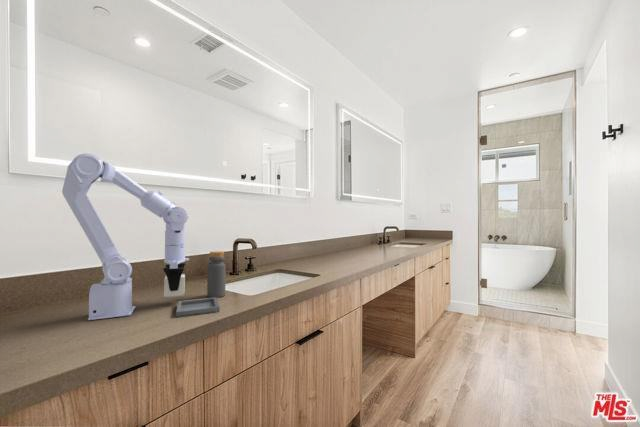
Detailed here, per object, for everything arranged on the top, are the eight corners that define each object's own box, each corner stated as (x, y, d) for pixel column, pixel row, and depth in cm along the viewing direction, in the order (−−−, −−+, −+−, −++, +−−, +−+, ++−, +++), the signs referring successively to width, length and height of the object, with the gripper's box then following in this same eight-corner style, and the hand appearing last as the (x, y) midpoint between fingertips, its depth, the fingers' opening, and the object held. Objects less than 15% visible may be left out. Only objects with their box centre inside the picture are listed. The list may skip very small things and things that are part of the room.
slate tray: (176, 317, 78) (176, 312, 78) (178, 306, 88) (178, 301, 88) (219, 311, 82) (219, 306, 82) (216, 301, 92) (216, 297, 92)
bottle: (208, 298, 95) (209, 252, 96) (206, 294, 100) (206, 251, 101) (226, 296, 98) (227, 252, 99) (223, 292, 103) (224, 250, 104)
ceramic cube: (164, 296, 87) (164, 278, 87) (165, 292, 92) (165, 275, 92) (184, 295, 89) (184, 277, 89) (184, 291, 94) (185, 274, 94)
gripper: (188, 246, 86) (188, 292, 85) (189, 242, 99) (188, 282, 99) (161, 247, 83) (161, 294, 83) (166, 243, 96) (165, 284, 96)
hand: (174, 288), depth 90 cm, fingers closed on ceramic cube, 5 cm apart
